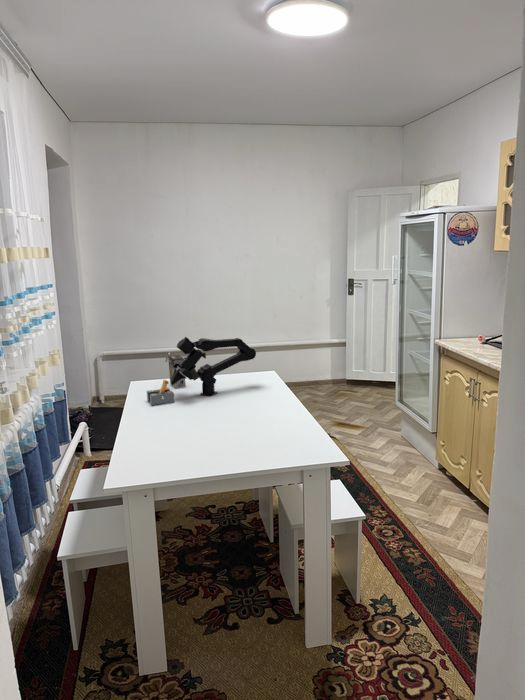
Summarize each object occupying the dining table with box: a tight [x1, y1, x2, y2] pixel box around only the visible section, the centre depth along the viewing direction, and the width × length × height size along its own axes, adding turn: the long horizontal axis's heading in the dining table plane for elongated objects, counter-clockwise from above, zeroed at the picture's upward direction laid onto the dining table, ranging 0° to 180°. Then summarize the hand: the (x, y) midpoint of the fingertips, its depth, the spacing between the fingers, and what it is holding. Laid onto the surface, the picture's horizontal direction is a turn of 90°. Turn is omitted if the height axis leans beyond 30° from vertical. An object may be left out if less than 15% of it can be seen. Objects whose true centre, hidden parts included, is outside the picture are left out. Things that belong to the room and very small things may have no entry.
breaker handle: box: [159, 379, 170, 393], centre depth 257 cm, size 2×2×8 cm
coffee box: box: [167, 354, 186, 389], centre depth 283 cm, size 9×6×16 cm
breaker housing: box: [146, 387, 175, 407], centre depth 257 cm, size 11×10×5 cm
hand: (171, 384), depth 259 cm, fingers closed
